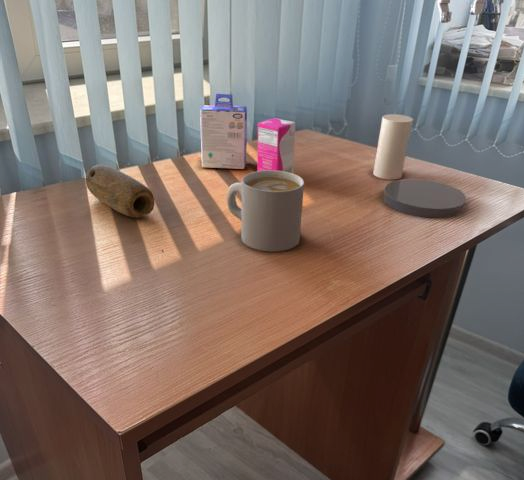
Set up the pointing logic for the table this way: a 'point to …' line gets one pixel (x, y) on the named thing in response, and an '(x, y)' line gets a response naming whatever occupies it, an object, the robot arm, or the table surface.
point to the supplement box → (276, 145)
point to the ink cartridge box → (223, 134)
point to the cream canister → (392, 146)
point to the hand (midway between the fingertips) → (459, 18)
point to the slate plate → (424, 198)
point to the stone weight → (119, 191)
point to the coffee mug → (269, 209)
